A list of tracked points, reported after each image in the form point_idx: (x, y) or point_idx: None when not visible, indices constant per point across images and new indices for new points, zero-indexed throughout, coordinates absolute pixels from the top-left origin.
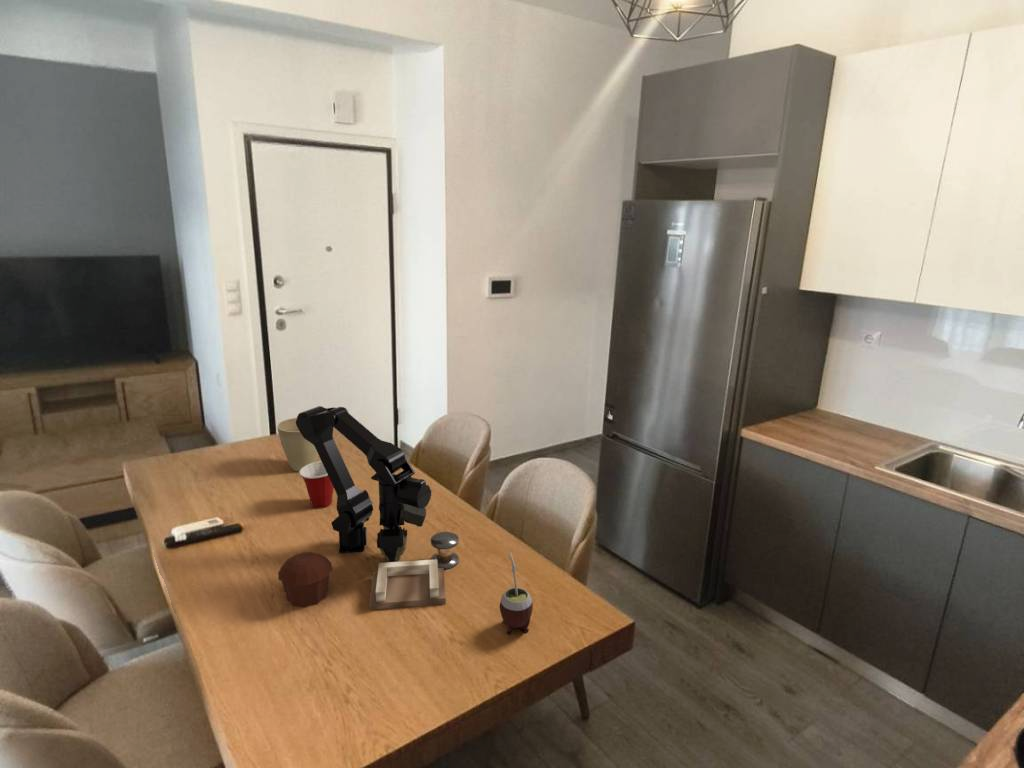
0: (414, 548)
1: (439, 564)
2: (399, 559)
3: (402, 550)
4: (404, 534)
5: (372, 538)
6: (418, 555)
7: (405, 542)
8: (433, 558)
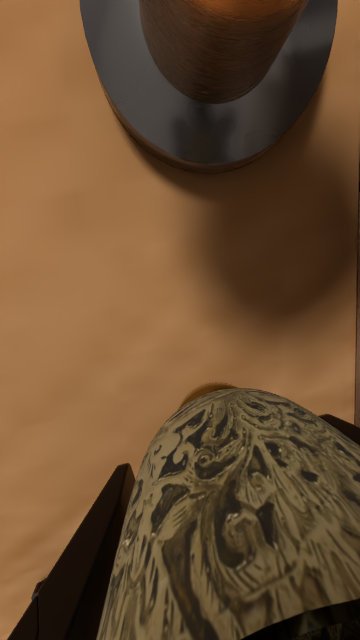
0: (65, 329)
1: (301, 64)
2: (235, 386)
3: (319, 417)
4: (173, 562)
5: (21, 557)
6: (145, 283)
7: (346, 462)
8: (214, 140)
